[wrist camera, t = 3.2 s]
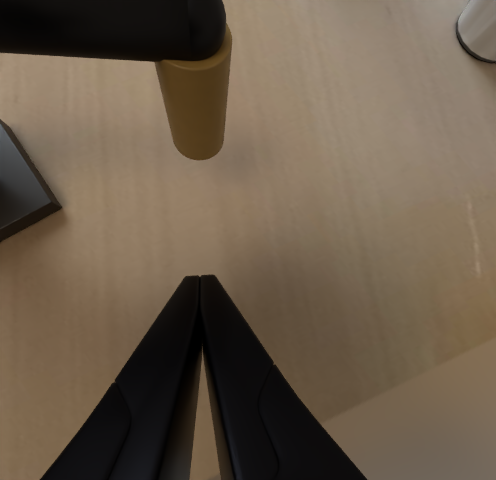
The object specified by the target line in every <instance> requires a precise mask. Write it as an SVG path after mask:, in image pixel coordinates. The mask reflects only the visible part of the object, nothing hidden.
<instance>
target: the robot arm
mask: <svg viewBox="0 0 496 480" xmlns="http://www.w3.org/2000/svg"><path fill="white" fill-rule="evenodd" d="M202 346H203V357H204V365H205V371H206V378H207V385H208V392H209V399H210V406H211V413H212V420H213V426H214V433H215V440H216V447H217V454H218V461H219V468H220V475H221V480H367V479H366V477H365V476H364V475H363V474H362V473H361V472H360V470H359V469H358V468H357V467H356V466H355V464H354V463H353V462H352V461H351V460H350V459H349V457H348V456H347V455H346V454H345V453H344V452H343V450H342V449H341V448H340V447H339V446H338V444H337V443H336V442H335V441H334V440H333V439H332V438H331V436H330V435H329V434H328V433H327V432H326V430H325V429H324V428H323V427H322V426H321V424H320V423H319V422H318V421H317V420H316V418H315V417H314V416H313V415H312V414H311V412H310V411H309V410H308V409H307V407H306V406H305V405H304V404H303V402H302V401H301V400H300V399H299V397H298V396H297V395H296V393H295V392H294V390H293V389H292V388H291V386H290V385H289V383H288V382H287V381H286V379H285V378H284V376H283V375H282V373H281V372H280V371H279V369H278V368H277V366H276V365H273V364H274V362H273V360H272V359H271V357H270V356H269V354H268V353H267V352H266V350H265V349H264V347H263V346H262V344H261V343H260V341H259V340H258V338H257V337H256V335H255V334H254V332H253V331H252V329H251V328H250V326H249V325H248V323H247V322H246V320H245V319H244V317H243V316H242V314H241V313H240V311H239V310H238V309H237V307H236V306H235V304H234V303H233V301H232V300H231V298H230V297H229V295H228V294H227V292H226V291H225V289H224V288H223V286H222V285H221V283H220V282H219V280H218V279H217V277H216V276H215V275H202V276H201V277H199V276H198V275H196V276H186V277H184V279H183V280H182V282H181V283H180V285H179V286H178V288H177V289H176V291H175V292H174V293H173V295H172V296H171V298H170V299H169V301H168V302H167V304H166V305H165V307H164V308H163V310H162V311H161V313H160V314H159V316H158V317H157V318H156V320H155V321H154V323H153V324H152V326H151V327H150V329H149V330H148V332H147V333H146V335H145V336H144V338H143V339H142V341H141V342H140V343H139V345H138V346H137V348H136V349H135V351H134V352H133V354H132V355H131V357H130V358H129V360H128V361H127V363H126V364H125V366H124V367H123V368H122V370H121V371H120V373H119V374H118V376H117V377H116V379H115V382H116V383H112V384H111V386H110V387H109V389H108V390H107V392H106V393H105V395H104V396H103V398H102V399H101V401H100V402H99V403H98V405H97V406H96V408H95V409H94V410H93V412H92V413H91V415H90V416H89V417H88V419H87V420H86V422H85V423H84V424H83V426H82V427H81V428H80V430H79V431H78V432H77V434H76V435H75V436H74V437H73V439H72V440H71V441H70V442H69V444H68V445H67V446H66V448H65V449H64V450H63V451H62V453H61V454H60V455H59V456H58V458H57V459H56V460H55V462H54V463H53V464H52V465H51V466H50V468H49V469H48V470H47V471H46V473H45V474H44V475H43V476H42V478H41V479H40V480H189V477H190V467H191V458H192V448H193V439H194V429H195V420H196V410H197V400H198V391H199V381H200V372H201V362H202Z"/></svg>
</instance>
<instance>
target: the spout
mask: <svg viewBox="0 0 496 480" xmlns="http://www.w3.org/2000/svg"><path fill="white" fill-rule="evenodd" d="M231 50H232V35H231V32H230V29H229V27H228V25H227V23H226V13H225V8H224V4H223V2H222V0H0V53H14V54H31V55H48V56H65V57H82V58H99V59H116V60H134V61H151V62H154V63H155V67H156V71H157V75H158V79H159V84H160V88H161V92H162V96H163V100H164V104H165V109H166V113H167V117H168V121H169V125H170V129H171V134H172V138H173V142H174V145H175V147H176V148H177V150H178V151H179V152H180V153H181V154H182V155H184V156H185V157H187V158H190V159H193V160H206V159H209V158H211V157H213V156H215V155H216V154H217V153H218V152H219V151H220V149H221V148H222V145H223V141H224V131H225V119H226V108H227V96H228V84H229V73H230V61H231Z"/></svg>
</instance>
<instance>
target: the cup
mask: <svg viewBox="0 0 496 480" xmlns="http://www.w3.org/2000/svg"><path fill="white" fill-rule="evenodd" d="M457 36H458V38H459V40H460V42H461V44H462V45H463V46H464V48H465V49H466V50H467V51H468V52H469V53H470V54H472V55H473V56H475V57H476V58H478V59H480V60H483V61H487V62H496V0H470V1H469V3H468V4H467V6H466V8H465V9H464V11H463V12H462V14H461V16H460V18H459V20H458V22H457Z"/></svg>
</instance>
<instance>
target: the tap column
mask: <svg viewBox="0 0 496 480" xmlns="http://www.w3.org/2000/svg"><path fill="white" fill-rule="evenodd" d="M61 208H62V207H61V206H60V204H59V202H58V201H57V199H56V198H55V196H54V195H53V193H52V192H51V190H50V189H49V187H48V186H47V184H46V183H45V181H44V179H43V178H42V176H41V175H40V173H39V172H38V170H37V169H36V167H35V166H34V164H33V163H32V161H31V160H30V158H29V156H28V155H27V153H26V152H25V150H24V149H23V147H22V146H21V144H20V143H19V141H18V140H17V138H16V137H15V135H14V133H13V132H12V130H11V129H10V127H9V126H8V125H7V124H5V123H4V122H3V121H2V120H1V119H0V241H2V240H4V239H6V238H7V237H9V236H11V235H13V234H15V233H17V232H18V231H20V230H22V229H24V228H26V227H28V226H29V225H31V224H33V223H35V222H37V221H39V220H41V219H42V218H44V217H46V216H48V215H50V214H52V213H53V212H55V211H57V210H59V209H61Z"/></svg>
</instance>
